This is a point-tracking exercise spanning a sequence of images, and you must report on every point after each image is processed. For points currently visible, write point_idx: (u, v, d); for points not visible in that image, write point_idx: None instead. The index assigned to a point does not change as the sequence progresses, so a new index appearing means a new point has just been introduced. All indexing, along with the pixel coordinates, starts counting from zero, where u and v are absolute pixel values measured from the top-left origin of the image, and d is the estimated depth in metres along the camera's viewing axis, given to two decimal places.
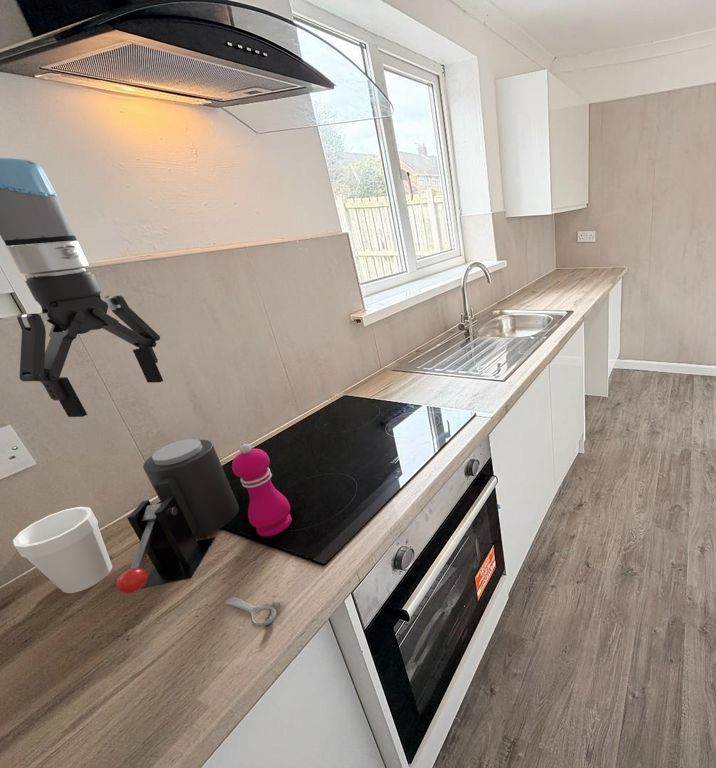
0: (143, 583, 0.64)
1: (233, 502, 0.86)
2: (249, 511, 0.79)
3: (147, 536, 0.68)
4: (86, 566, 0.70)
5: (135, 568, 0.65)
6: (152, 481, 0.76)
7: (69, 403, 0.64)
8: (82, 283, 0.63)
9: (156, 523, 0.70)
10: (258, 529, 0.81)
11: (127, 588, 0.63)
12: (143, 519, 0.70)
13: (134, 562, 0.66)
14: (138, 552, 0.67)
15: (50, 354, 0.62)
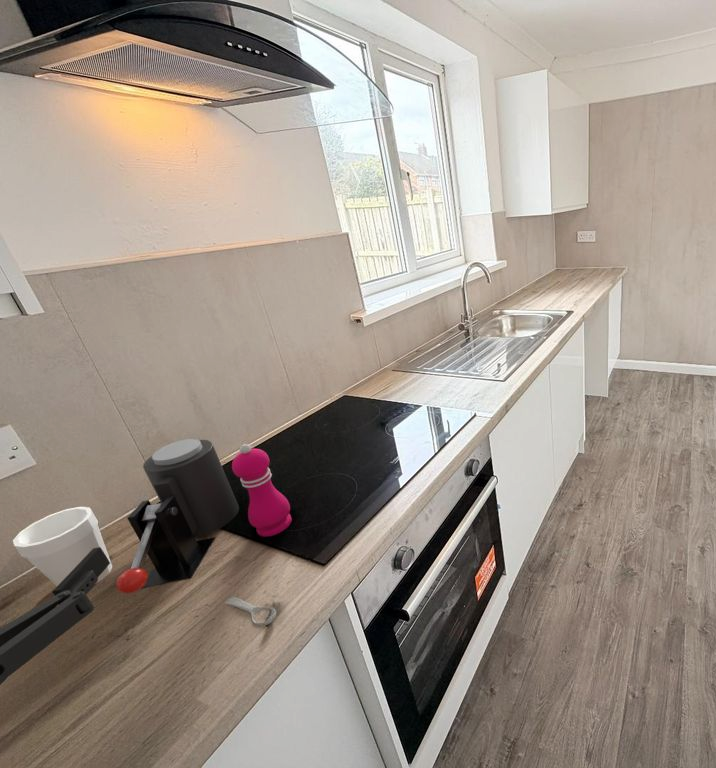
0: (143, 583, 0.64)
1: (233, 502, 0.86)
2: (249, 511, 0.79)
3: (147, 536, 0.68)
4: None
5: (135, 568, 0.65)
6: (152, 481, 0.76)
7: None
8: None
9: (156, 523, 0.70)
10: (258, 529, 0.81)
11: (127, 588, 0.63)
12: (143, 519, 0.70)
13: (134, 562, 0.66)
14: (138, 552, 0.67)
15: None
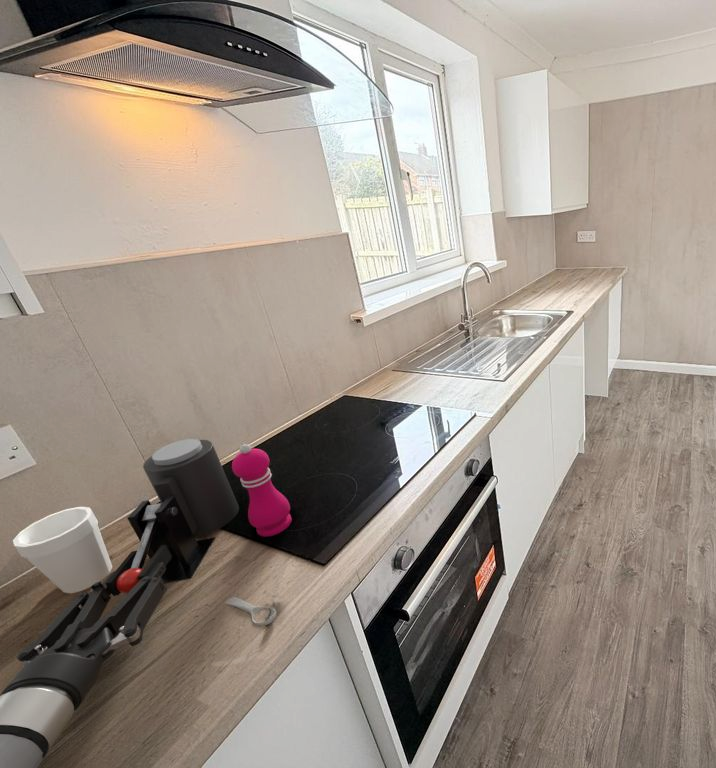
0: None
1: (233, 502, 0.86)
2: (249, 511, 0.79)
3: (147, 536, 0.68)
4: (86, 566, 0.70)
5: (135, 568, 0.65)
6: (152, 481, 0.76)
7: None
8: None
9: (156, 523, 0.70)
10: (258, 529, 0.81)
11: (127, 588, 0.63)
12: (143, 519, 0.70)
13: (134, 562, 0.66)
14: (138, 552, 0.67)
15: None
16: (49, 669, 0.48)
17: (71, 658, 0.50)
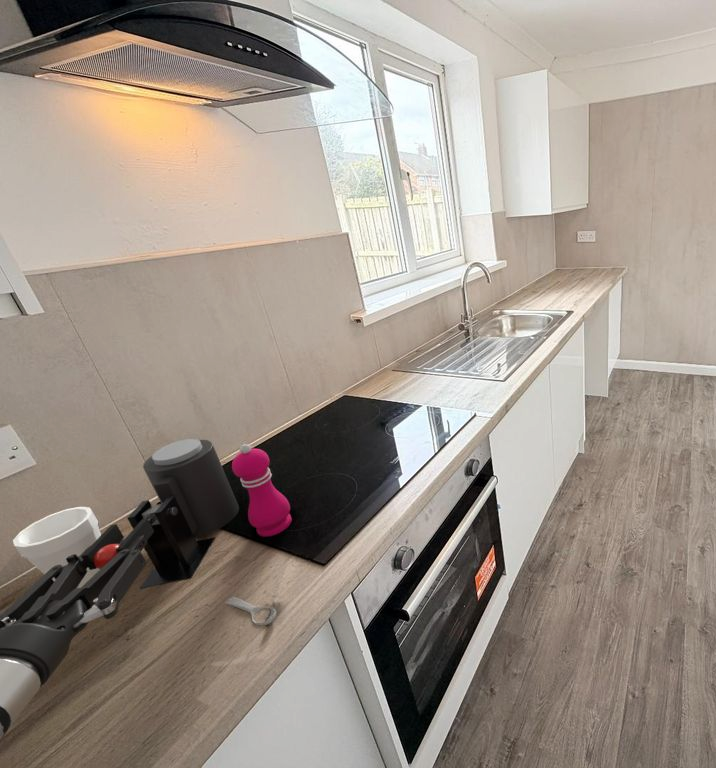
0: None
1: (233, 502, 0.86)
2: (249, 511, 0.79)
3: None
4: None
5: (119, 544, 0.62)
6: (152, 481, 0.76)
7: None
8: None
9: (153, 520, 0.70)
10: (258, 529, 0.81)
11: (104, 558, 0.59)
12: (143, 513, 0.70)
13: (119, 542, 0.63)
14: None
15: None
16: (13, 640, 0.45)
17: (39, 629, 0.47)
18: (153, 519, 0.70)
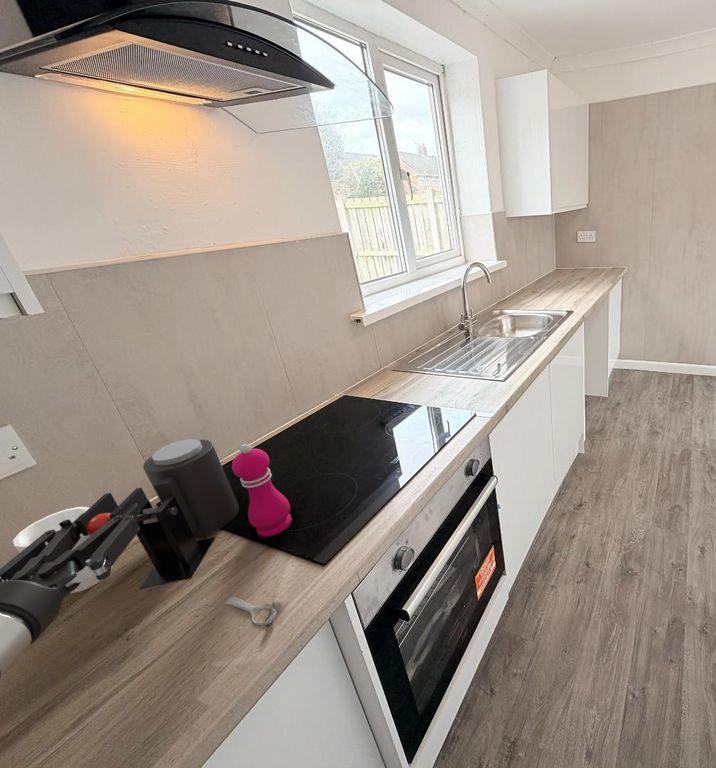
0: None
1: (233, 502, 0.86)
2: (249, 511, 0.79)
3: (139, 515, 0.67)
4: None
5: None
6: (152, 481, 0.76)
7: None
8: None
9: (152, 516, 0.70)
10: (258, 529, 0.81)
11: (97, 520, 0.59)
12: None
13: None
14: None
15: None
16: (4, 594, 0.45)
17: (30, 586, 0.47)
18: (152, 515, 0.70)
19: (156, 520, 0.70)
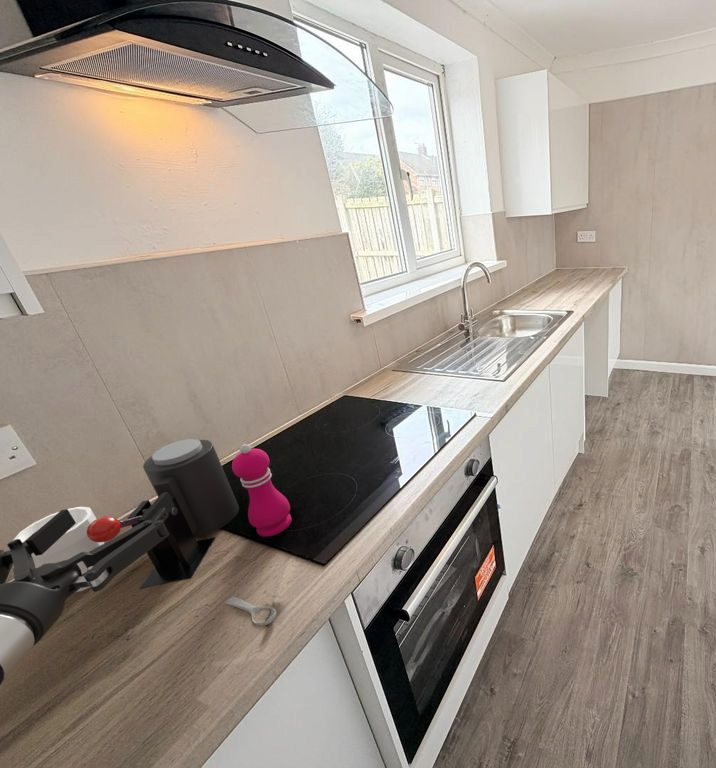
0: (112, 530, 0.60)
1: (233, 502, 0.86)
2: (249, 511, 0.79)
3: (139, 516, 0.67)
4: None
5: None
6: (152, 481, 0.76)
7: None
8: None
9: None
10: (258, 529, 0.81)
11: (97, 525, 0.59)
12: (144, 510, 0.70)
13: None
14: (124, 520, 0.65)
15: None
16: (7, 596, 0.45)
17: (33, 587, 0.47)
18: None
19: None
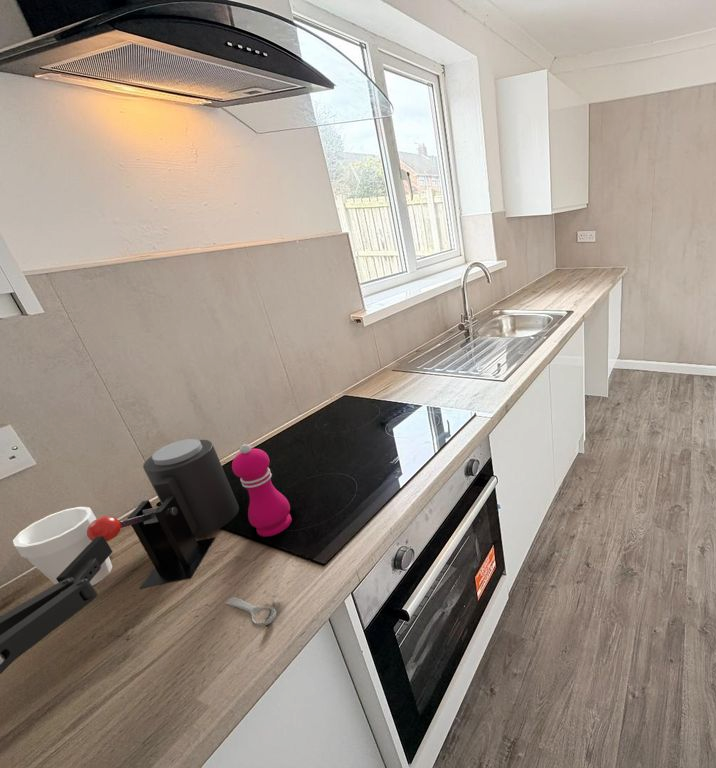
0: (112, 530, 0.60)
1: (233, 502, 0.86)
2: (249, 511, 0.79)
3: (139, 516, 0.67)
4: None
5: None
6: (152, 481, 0.76)
7: None
8: None
9: (152, 516, 0.70)
10: (258, 529, 0.81)
11: (97, 525, 0.59)
12: (144, 510, 0.70)
13: None
14: (124, 520, 0.65)
15: None
16: None
17: None
18: (152, 515, 0.70)
19: (156, 520, 0.70)
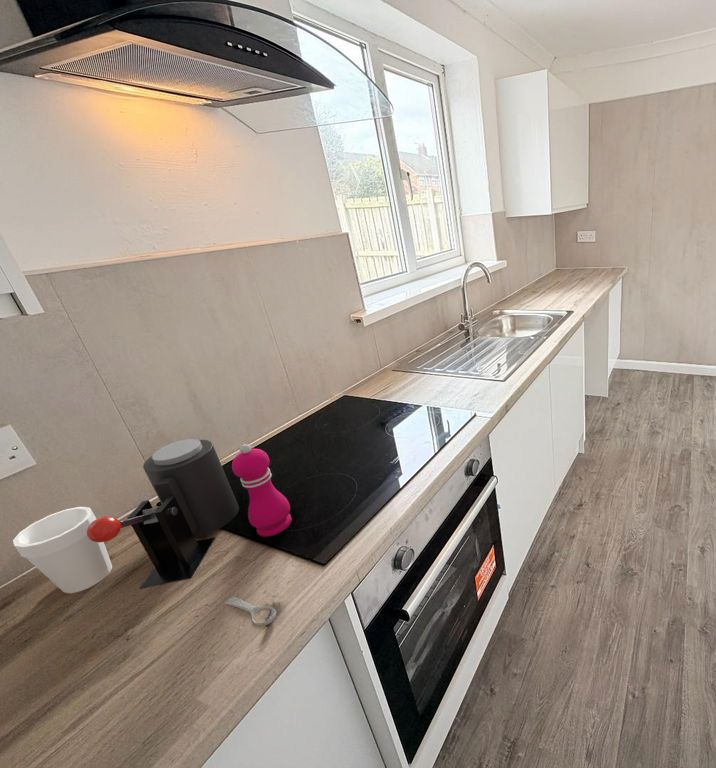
0: (112, 530, 0.60)
1: (233, 502, 0.86)
2: (249, 511, 0.79)
3: (139, 516, 0.67)
4: (86, 566, 0.70)
5: None
6: (152, 481, 0.76)
7: None
8: None
9: (152, 516, 0.70)
10: (258, 529, 0.81)
11: (97, 525, 0.59)
12: (144, 510, 0.70)
13: None
14: (124, 520, 0.65)
15: None
16: None
17: None
18: (152, 515, 0.70)
19: (156, 520, 0.70)
